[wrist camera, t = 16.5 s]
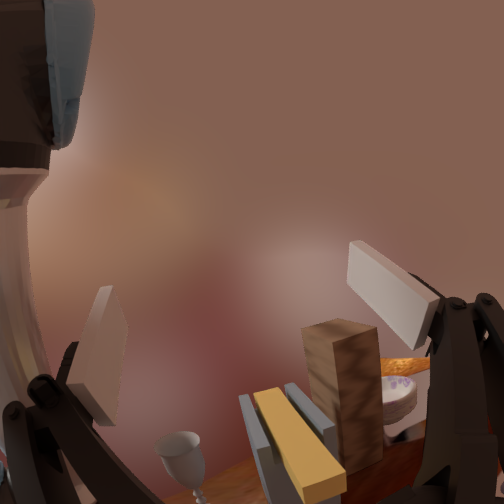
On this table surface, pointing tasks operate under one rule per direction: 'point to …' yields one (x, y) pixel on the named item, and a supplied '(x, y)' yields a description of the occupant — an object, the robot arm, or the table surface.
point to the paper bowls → (397, 398)
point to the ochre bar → (300, 449)
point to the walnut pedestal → (348, 387)
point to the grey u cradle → (266, 456)
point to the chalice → (183, 460)
